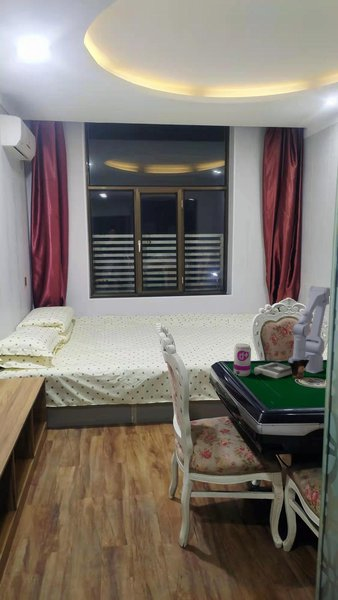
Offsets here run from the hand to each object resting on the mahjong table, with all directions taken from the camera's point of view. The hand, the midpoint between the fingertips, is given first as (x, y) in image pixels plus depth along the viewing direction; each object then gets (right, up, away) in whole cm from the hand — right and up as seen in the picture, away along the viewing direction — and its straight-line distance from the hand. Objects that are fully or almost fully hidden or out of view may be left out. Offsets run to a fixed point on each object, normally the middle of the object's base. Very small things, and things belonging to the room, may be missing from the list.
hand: (298, 374), depth 210 cm
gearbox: (-11, 0, +6) cm, 13 cm away
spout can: (0, -1, 0) cm, 1 cm away
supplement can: (-27, -1, +4) cm, 28 cm away
